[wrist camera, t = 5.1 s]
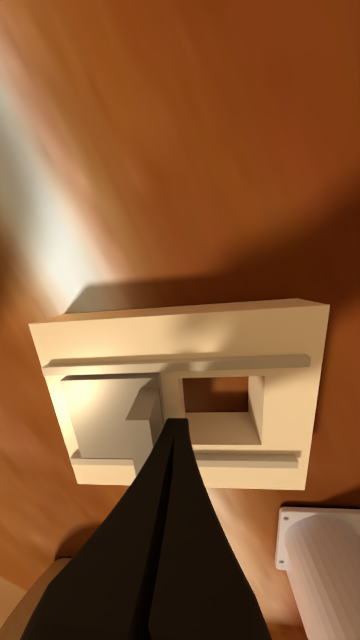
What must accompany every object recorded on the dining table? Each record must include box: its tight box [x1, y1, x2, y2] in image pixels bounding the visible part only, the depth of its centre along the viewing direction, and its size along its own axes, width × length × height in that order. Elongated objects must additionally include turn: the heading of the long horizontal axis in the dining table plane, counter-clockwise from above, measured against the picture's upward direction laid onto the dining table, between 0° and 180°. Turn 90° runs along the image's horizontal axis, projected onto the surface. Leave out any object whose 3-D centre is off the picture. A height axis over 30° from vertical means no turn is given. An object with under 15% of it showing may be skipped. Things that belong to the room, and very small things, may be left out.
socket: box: [29, 298, 330, 490], centre depth 13 cm, size 14×18×4 cm
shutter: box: [60, 373, 166, 476], centre depth 11 cm, size 6×6×3 cm
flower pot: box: [0, 558, 72, 640], centre depth 19 cm, size 10×10×7 cm
